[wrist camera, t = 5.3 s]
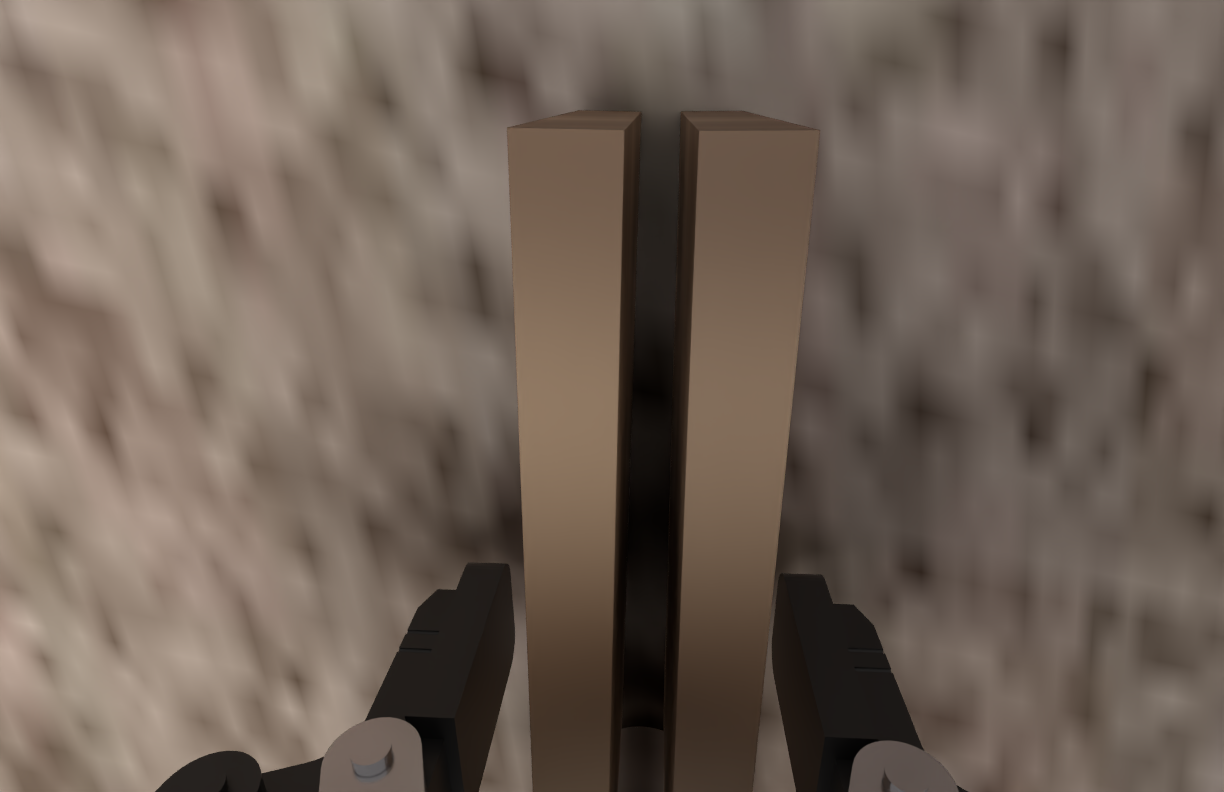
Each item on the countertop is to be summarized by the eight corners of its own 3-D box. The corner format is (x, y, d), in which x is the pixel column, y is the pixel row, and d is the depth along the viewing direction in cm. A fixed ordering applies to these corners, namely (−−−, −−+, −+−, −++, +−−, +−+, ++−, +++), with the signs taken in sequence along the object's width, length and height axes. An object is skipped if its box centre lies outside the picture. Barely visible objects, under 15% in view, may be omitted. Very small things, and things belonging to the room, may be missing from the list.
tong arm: (688, 801, 17) (700, 1107, 12) (579, 793, 17) (544, 1092, 12) (750, 114, 11) (828, 135, 6) (578, 110, 11) (506, 128, 6)
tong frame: (714, 890, 19) (739, 1286, 13) (567, 882, 19) (521, 1266, 13) (774, 111, 11) (918, 136, 5) (527, 112, 12) (366, 139, 5)
